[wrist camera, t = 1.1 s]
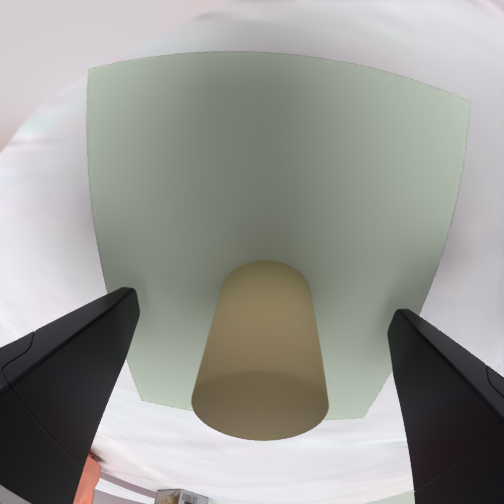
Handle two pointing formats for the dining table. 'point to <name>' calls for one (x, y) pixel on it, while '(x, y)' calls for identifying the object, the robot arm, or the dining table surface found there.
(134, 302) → the robot arm
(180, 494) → the coffee box
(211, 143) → the lid
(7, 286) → the dining table surface
